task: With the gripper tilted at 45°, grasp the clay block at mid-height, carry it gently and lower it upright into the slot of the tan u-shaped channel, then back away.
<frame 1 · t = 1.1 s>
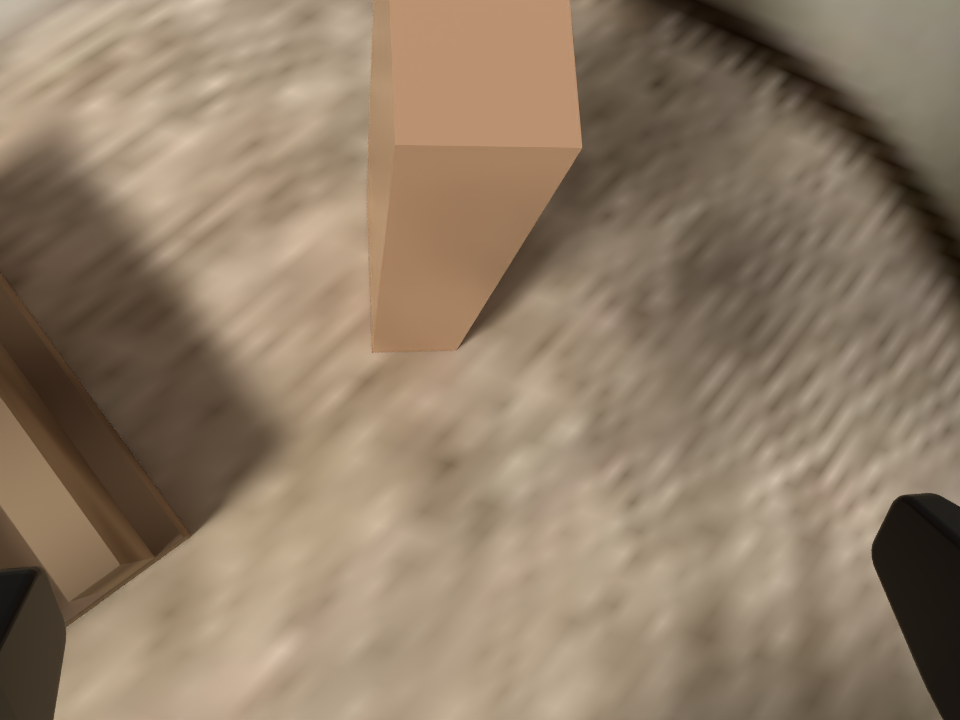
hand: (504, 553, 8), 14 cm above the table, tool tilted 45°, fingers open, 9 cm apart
clay block: (410, 267, 23), on the table
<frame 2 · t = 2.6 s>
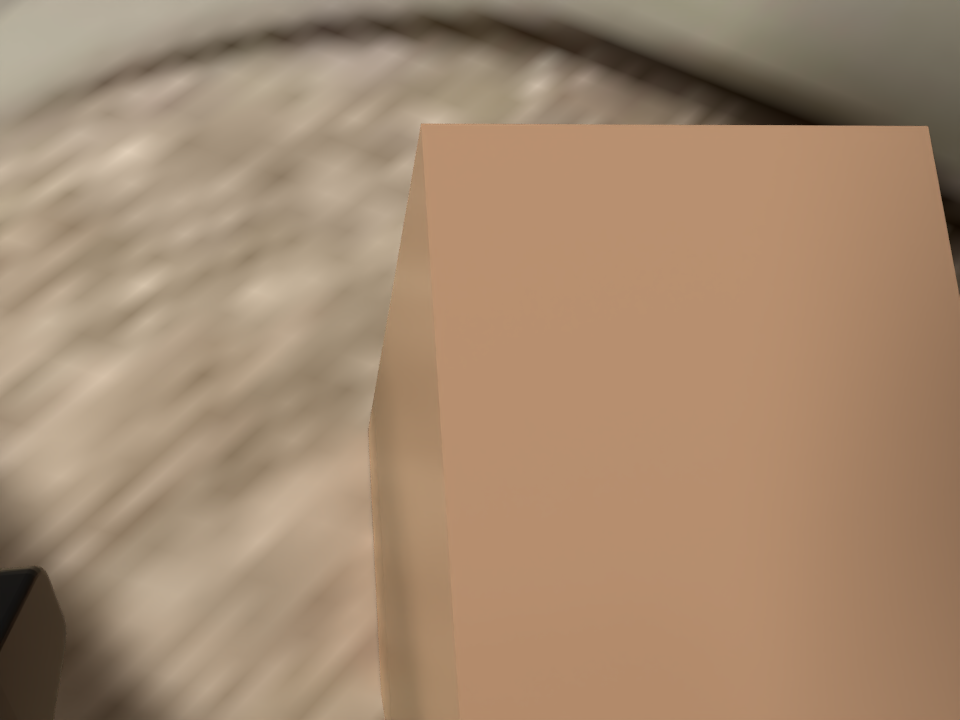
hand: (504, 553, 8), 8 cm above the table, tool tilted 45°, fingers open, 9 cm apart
clay block: (435, 552, 16), on the table
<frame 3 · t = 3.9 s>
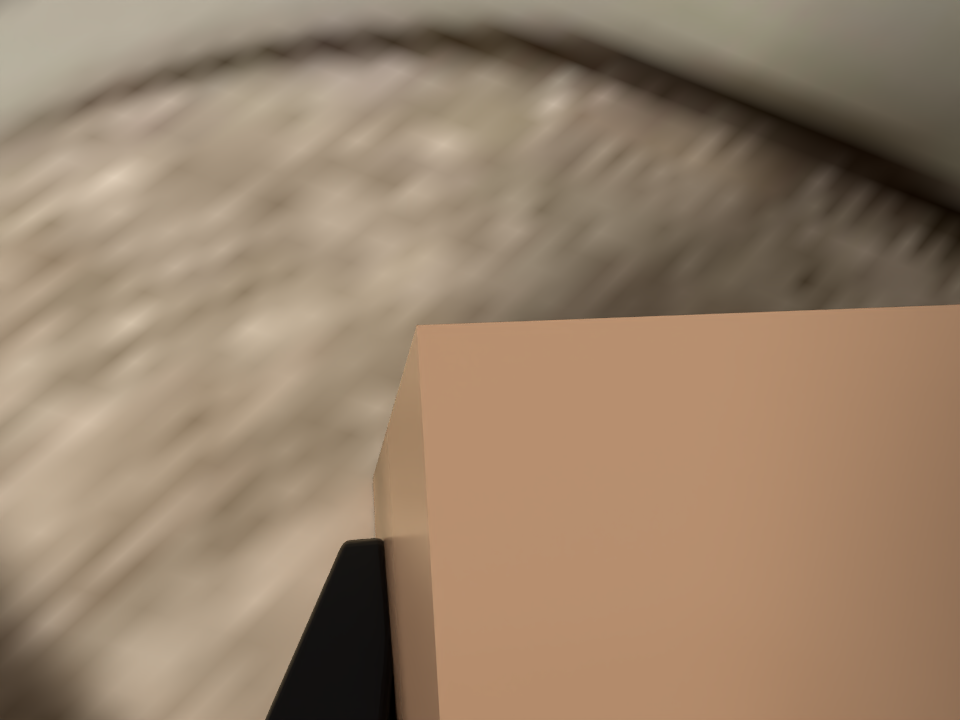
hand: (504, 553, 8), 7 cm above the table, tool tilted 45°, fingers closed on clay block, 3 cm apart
clay block: (445, 611, 15), on the table, touching gripper
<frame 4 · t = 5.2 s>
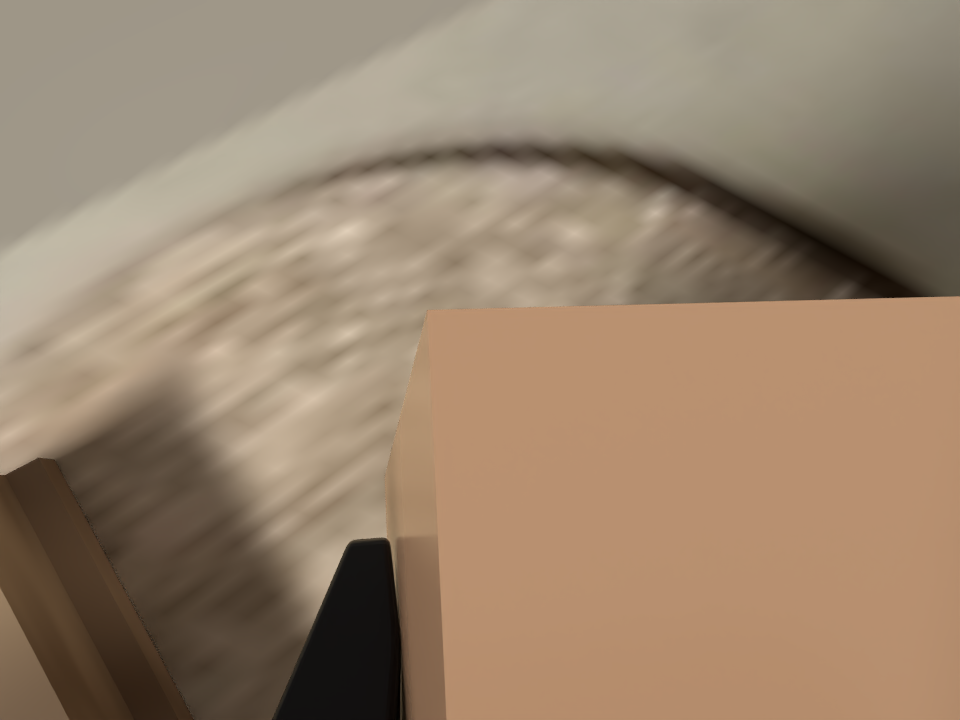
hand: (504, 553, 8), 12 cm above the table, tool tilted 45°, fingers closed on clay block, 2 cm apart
clay block: (455, 609, 15), point 6 cm above the table, touching gripper
when the fingers open (9 cm above the table, at t = 7.0 s): clay block drops 1 cm, resting on tan u-shaped channel.
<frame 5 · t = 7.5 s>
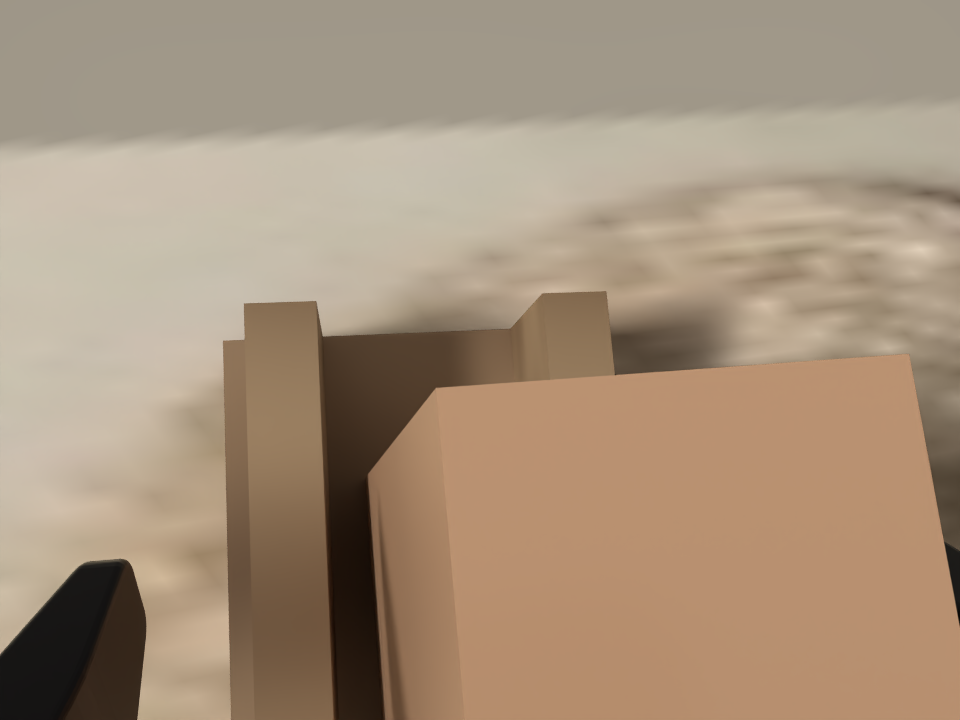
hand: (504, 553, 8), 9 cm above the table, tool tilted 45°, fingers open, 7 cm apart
tan u-shaped channel: (430, 594, 17), on the table
clay block: (433, 598, 16), point 1 cm above the table, touching tan u-shaped channel
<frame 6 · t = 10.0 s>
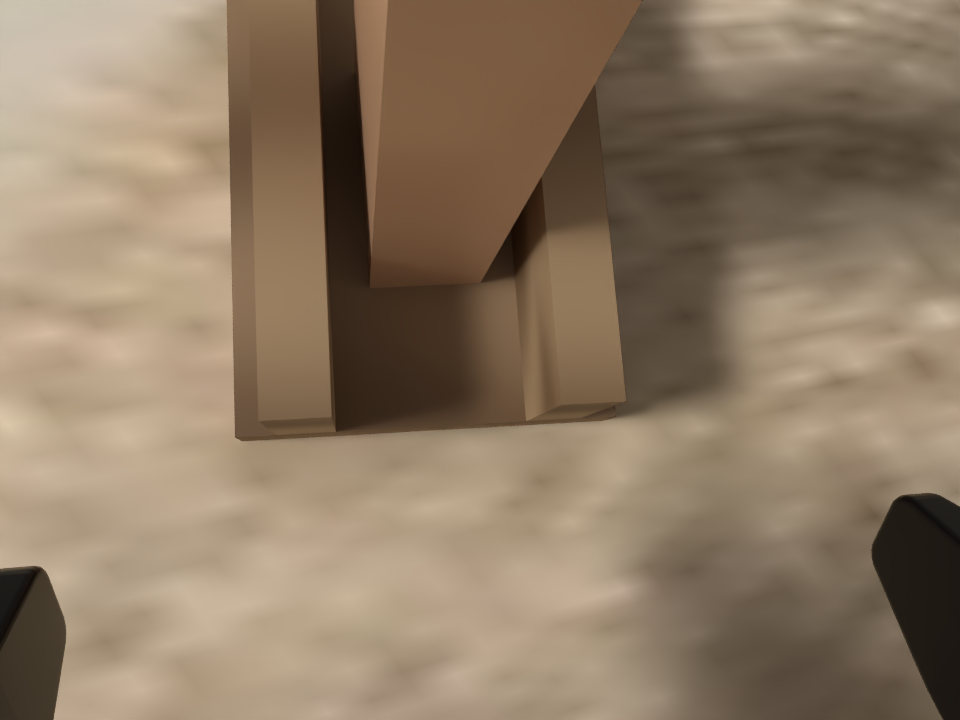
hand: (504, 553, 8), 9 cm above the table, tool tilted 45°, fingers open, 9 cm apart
tan u-shaped channel: (414, 194, 19), on the table
clay block: (416, 176, 18), point 1 cm above the table, touching tan u-shaped channel
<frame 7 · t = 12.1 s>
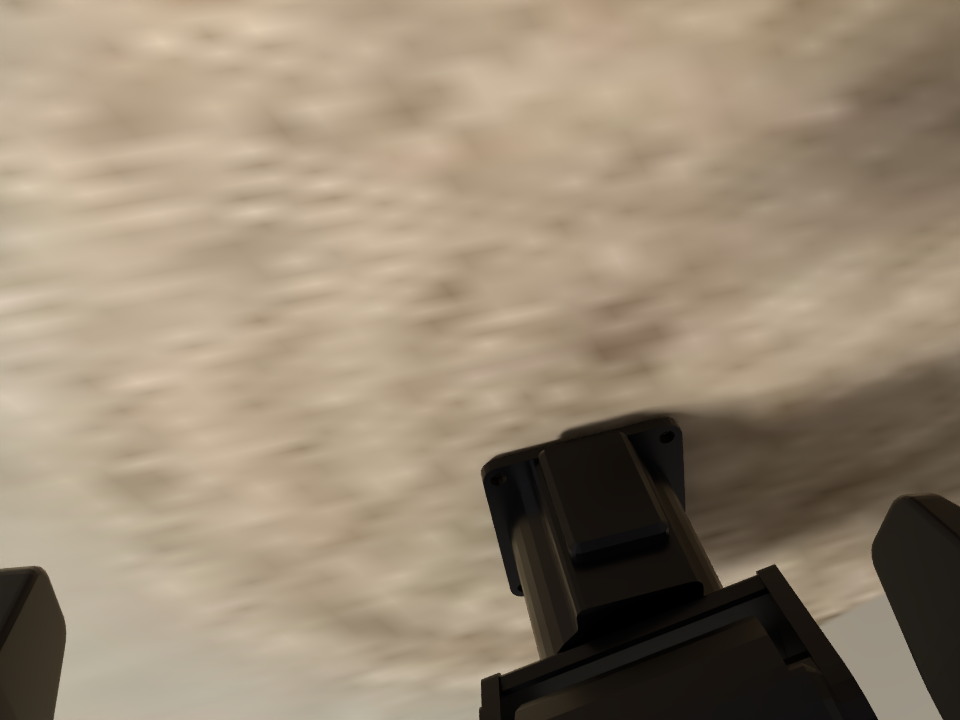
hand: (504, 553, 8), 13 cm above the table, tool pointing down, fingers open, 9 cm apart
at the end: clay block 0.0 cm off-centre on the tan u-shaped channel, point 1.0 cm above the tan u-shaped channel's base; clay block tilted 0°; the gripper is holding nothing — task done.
